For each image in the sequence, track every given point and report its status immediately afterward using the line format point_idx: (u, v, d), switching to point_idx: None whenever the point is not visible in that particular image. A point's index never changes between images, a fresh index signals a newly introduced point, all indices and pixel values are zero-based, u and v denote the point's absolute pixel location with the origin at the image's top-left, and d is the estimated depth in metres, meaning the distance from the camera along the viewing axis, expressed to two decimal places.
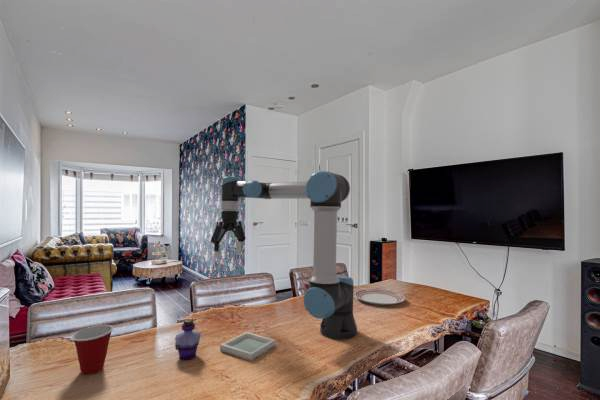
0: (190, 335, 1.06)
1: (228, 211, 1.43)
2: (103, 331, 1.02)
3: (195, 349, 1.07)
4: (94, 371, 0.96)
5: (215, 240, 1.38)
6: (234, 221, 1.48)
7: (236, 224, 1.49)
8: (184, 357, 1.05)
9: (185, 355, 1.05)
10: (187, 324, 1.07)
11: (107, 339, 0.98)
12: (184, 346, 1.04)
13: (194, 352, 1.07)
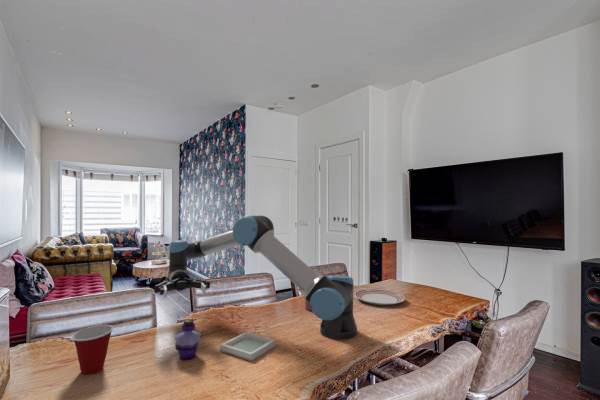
0: (190, 335, 1.06)
1: None
2: (103, 331, 1.02)
3: (195, 349, 1.07)
4: (94, 371, 0.96)
5: (156, 285, 1.20)
6: None
7: None
8: (184, 357, 1.05)
9: (185, 355, 1.05)
10: (187, 324, 1.07)
11: (107, 339, 0.98)
12: (184, 346, 1.04)
13: (194, 352, 1.07)
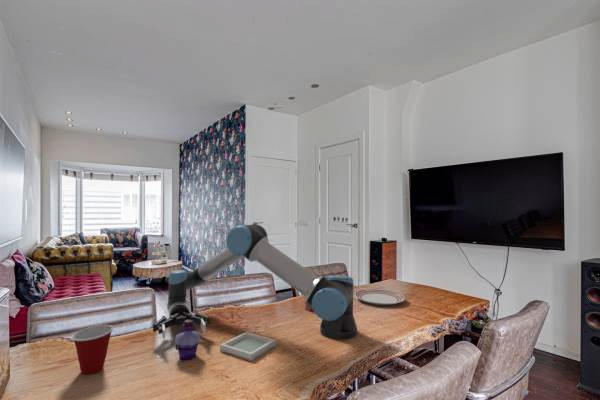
0: (190, 335, 1.06)
1: None
2: (103, 331, 1.02)
3: (195, 349, 1.07)
4: (94, 371, 0.96)
5: (154, 324, 1.17)
6: None
7: None
8: (184, 357, 1.05)
9: (185, 355, 1.05)
10: (187, 324, 1.07)
11: (107, 339, 0.98)
12: (184, 346, 1.04)
13: (194, 352, 1.07)
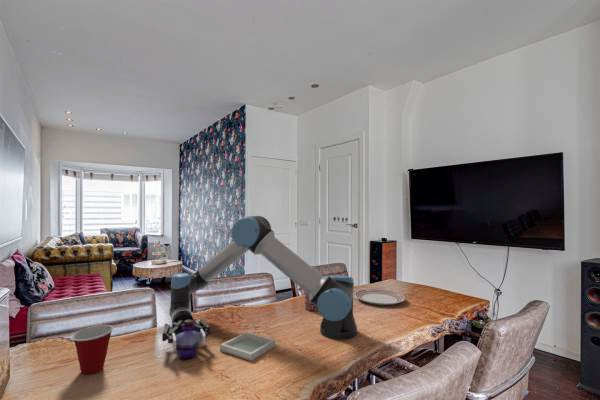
0: (190, 335, 1.06)
1: None
2: (103, 331, 1.02)
3: (195, 349, 1.07)
4: (94, 371, 0.96)
5: (163, 332, 1.08)
6: None
7: (194, 321, 1.20)
8: (184, 357, 1.05)
9: (185, 355, 1.05)
10: (187, 324, 1.07)
11: (107, 339, 0.98)
12: (184, 346, 1.04)
13: (194, 352, 1.07)
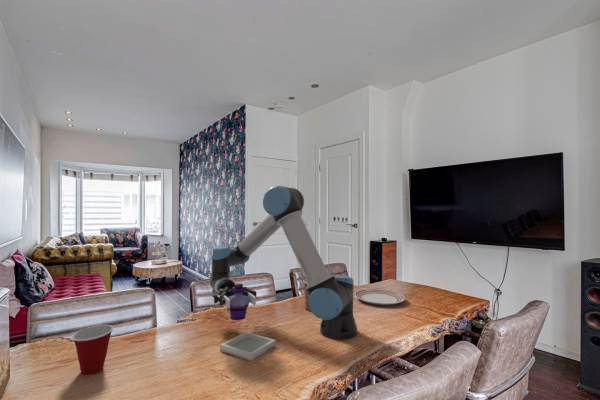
0: (241, 297, 1.13)
1: None
2: (103, 331, 1.02)
3: (245, 310, 1.14)
4: (94, 371, 0.96)
5: (215, 295, 1.14)
6: None
7: None
8: (236, 317, 1.12)
9: (237, 315, 1.12)
10: (238, 287, 1.13)
11: (107, 339, 0.98)
12: (236, 306, 1.11)
13: (244, 313, 1.13)
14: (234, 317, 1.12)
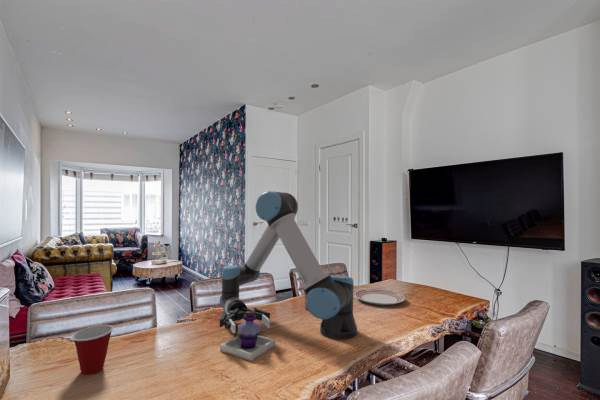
0: (252, 326, 1.14)
1: None
2: (103, 331, 1.02)
3: (256, 339, 1.14)
4: (94, 371, 0.96)
5: (220, 319, 1.15)
6: None
7: None
8: (246, 346, 1.12)
9: (247, 344, 1.12)
10: (249, 315, 1.14)
11: (107, 339, 0.98)
12: (247, 335, 1.11)
13: (255, 342, 1.14)
14: (244, 345, 1.12)
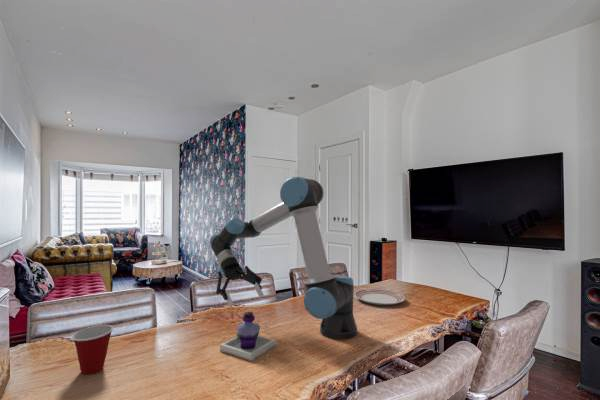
0: (251, 326, 1.13)
1: (223, 261, 1.39)
2: (103, 331, 1.02)
3: (255, 339, 1.14)
4: (94, 371, 0.96)
5: (218, 288, 1.27)
6: (237, 268, 1.39)
7: (241, 270, 1.39)
8: (246, 346, 1.12)
9: (247, 344, 1.12)
10: (248, 315, 1.14)
11: (107, 339, 0.98)
12: (247, 336, 1.11)
13: (254, 342, 1.14)
14: (244, 346, 1.12)
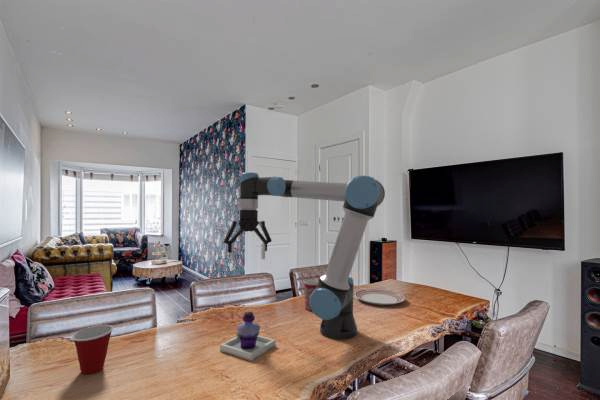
0: (251, 326, 1.13)
1: (243, 210, 1.32)
2: (103, 331, 1.02)
3: (255, 339, 1.14)
4: (94, 371, 0.96)
5: (226, 240, 1.29)
6: (254, 221, 1.35)
7: (257, 224, 1.35)
8: (246, 346, 1.12)
9: (247, 344, 1.12)
10: (248, 315, 1.14)
11: (107, 339, 0.98)
12: (247, 336, 1.11)
13: (254, 342, 1.14)
14: (244, 346, 1.12)
